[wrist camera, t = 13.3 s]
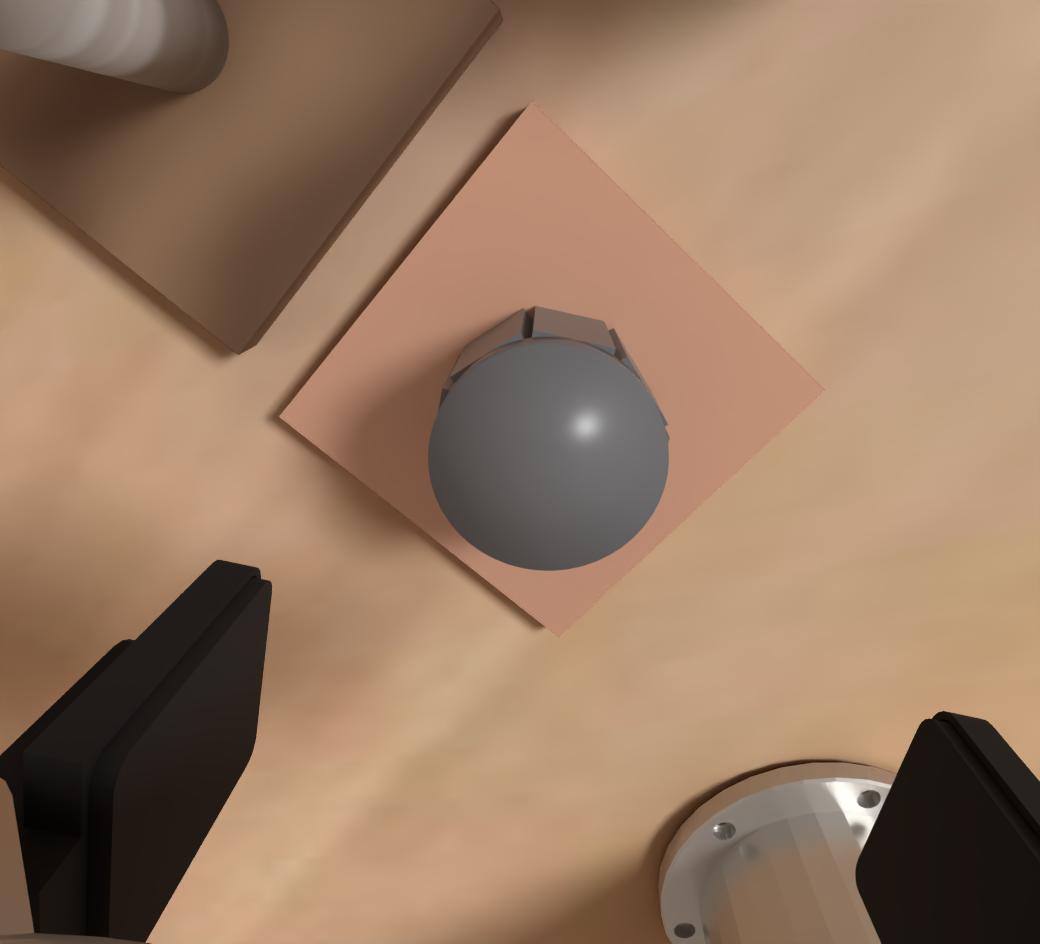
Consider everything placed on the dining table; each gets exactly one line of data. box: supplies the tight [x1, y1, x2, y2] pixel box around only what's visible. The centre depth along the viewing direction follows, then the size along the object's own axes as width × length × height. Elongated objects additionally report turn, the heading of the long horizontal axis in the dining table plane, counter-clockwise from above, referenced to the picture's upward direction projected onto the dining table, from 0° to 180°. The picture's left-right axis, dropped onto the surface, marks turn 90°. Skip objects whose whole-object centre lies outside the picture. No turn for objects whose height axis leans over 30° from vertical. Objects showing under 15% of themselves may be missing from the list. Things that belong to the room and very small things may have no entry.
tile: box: [279, 101, 825, 637], centre depth 24 cm, size 12×12×1 cm
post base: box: [0, 0, 503, 355], centre depth 17 cm, size 12×12×8 cm
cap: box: [428, 306, 670, 571], centre depth 21 cm, size 6×6×5 cm
